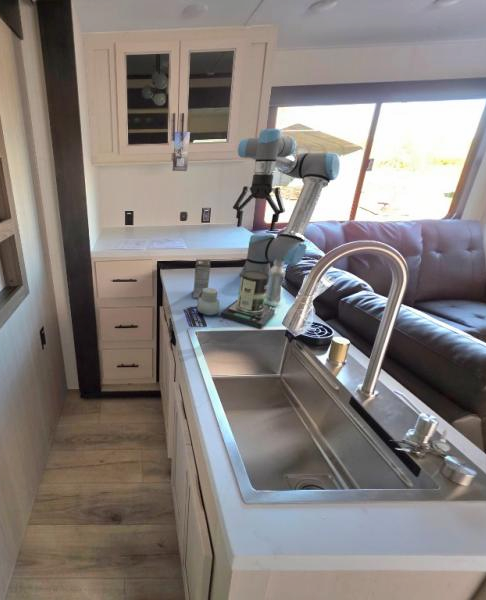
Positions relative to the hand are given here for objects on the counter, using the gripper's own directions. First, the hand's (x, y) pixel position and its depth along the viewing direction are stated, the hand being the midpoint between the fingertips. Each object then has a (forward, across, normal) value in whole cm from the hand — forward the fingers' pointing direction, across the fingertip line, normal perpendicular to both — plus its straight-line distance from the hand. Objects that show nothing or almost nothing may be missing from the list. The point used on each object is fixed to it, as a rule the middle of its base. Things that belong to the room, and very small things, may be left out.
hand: (254, 228), depth 131 cm
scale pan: (+30, +8, -16) cm, 34 cm away
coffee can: (+29, +8, -16) cm, 34 cm away
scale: (+32, +8, -17) cm, 37 cm away
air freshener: (+32, -6, -25) cm, 41 cm away
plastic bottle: (+32, +12, 0) cm, 34 cm away
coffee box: (+32, -17, -10) cm, 37 cm away
